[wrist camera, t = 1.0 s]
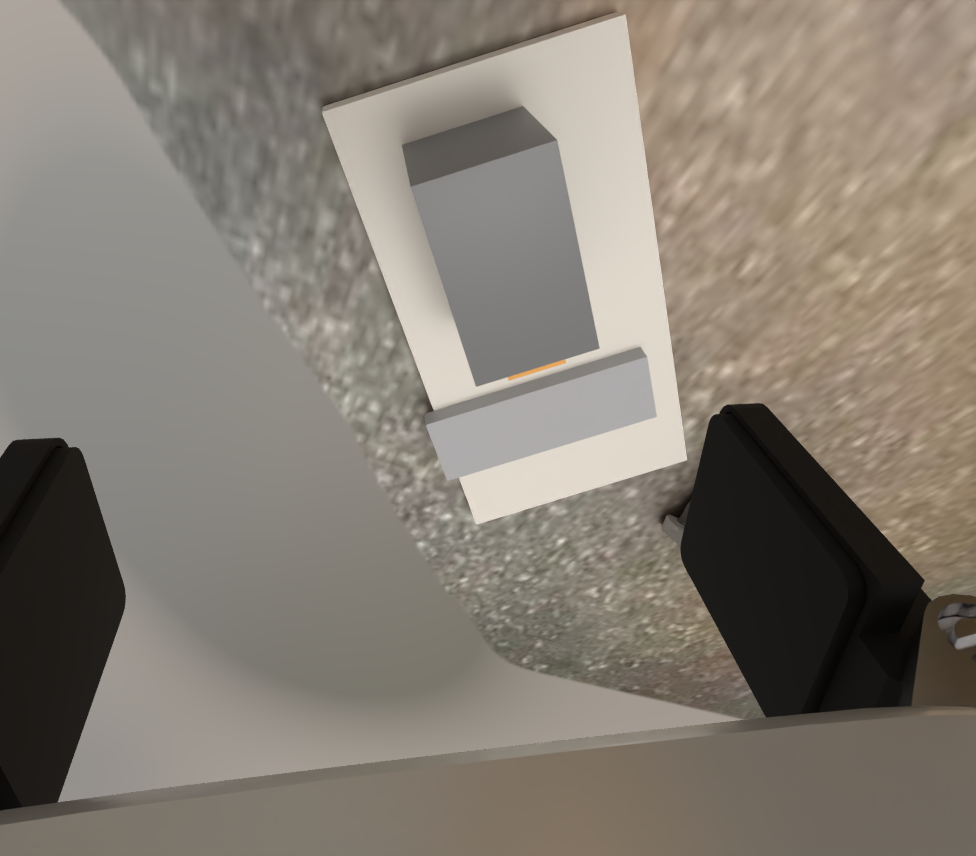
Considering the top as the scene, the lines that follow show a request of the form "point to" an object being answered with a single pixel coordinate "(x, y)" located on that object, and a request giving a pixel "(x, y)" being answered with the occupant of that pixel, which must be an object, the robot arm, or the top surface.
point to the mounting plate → (605, 257)
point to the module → (504, 243)
